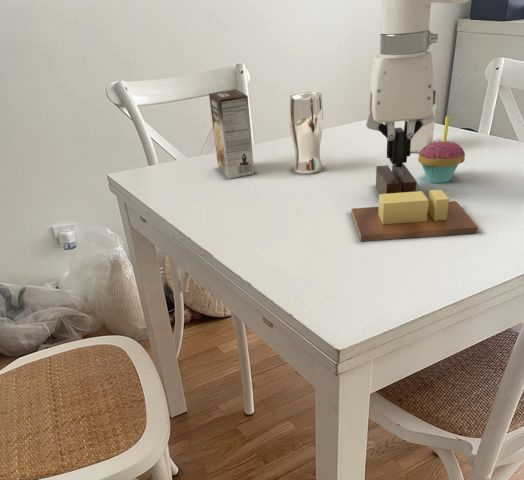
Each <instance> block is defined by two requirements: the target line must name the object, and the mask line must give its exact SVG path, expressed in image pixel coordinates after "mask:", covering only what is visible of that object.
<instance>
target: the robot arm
mask: <svg viewBox="0 0 524 480" xmlns="http://www.w3.org/2000/svg"><path fill="white" fill-rule="evenodd" d="M470 1H471V0H381V1H380V5H381V6H380V30H379V31H380V34H379V36H380V37H379V55H375V56H374V60H373V63H372V68H371V77H370V86H369V87H370V88H369V99H368V100H369V101H368V102H369V103H368V112H369V113H368V117H367V120H366V123H365V126H366V128H367V129H369V130H373V131H376V132H377V131H378V132H380V133H381V134H382V135H383V136H384V137H385V138H386V158H387V159H389V161H390V163H391V164H392V165H393V164H395V163H396V153H397V141H396V136H395V122H396V121H405V124H404V132H405V135H404V151H403V164H406V163H407V162H408V157H410V156H411V152H410V147H411V139H412V138H413V136H414V134H415V133H416V132H417V131H418V130H419V129H420V128H421V127H423V126H426V125H428V124H430V123H432V122H434V116H433V112H432V106H433V90H434V68H433V67H434V66H433V57H432V55H433V54H432V52H431V51H429V49H430V46H431V45H433V44H437V43H438V40H439V39H438V38H439V37H438V36H439V35H438V33H433V32H431V30H430V22H431V21H430V19H431V8H432V3H435V4H437V3H439V4H442V3H444V4H456V5H457V4H464V3H467V2H470ZM434 123H435V122H434Z"/></svg>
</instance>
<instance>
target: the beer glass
mask: <svg viewBox="0 0 524 480" xmlns="http://www.w3.org/2000/svg"><path fill="white" fill-rule="evenodd" d="M322 95H323V94H322V93H321V92H314V91H313V92H311V91H308V92H299V93H294V94H291V95H290V96H289V107H288V109H289V111H288V112H289V115H288V116H289V128H290V134H291V138H292V143H293V148H294V165H293V171H294V173H296V174H301V175H310V174H316V173H319V172H321V171H322V170H323V166H322V161H321V154H320V153H321V141H322V136H323V127H324V110H323V109H324V106H323V97H322Z"/></svg>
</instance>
